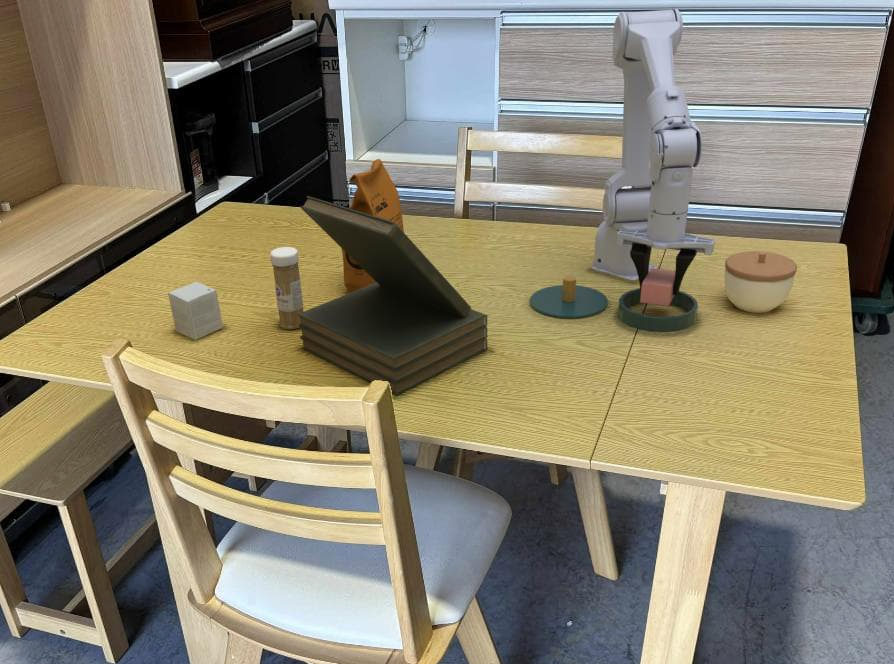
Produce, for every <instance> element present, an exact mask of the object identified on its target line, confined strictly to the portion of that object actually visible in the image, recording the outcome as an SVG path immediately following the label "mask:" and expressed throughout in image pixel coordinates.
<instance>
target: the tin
mask: <svg viewBox="0 0 894 664" xmlns="http://www.w3.org/2000/svg"><path fill="white" fill-rule="evenodd" d="M640 298H641V291H640V287H638V288H634V289H631V290H628V291H626V292H624V293H623V294H621V296H620V297H619V298H618V309H617V318H619V320H620V321H621V323H623V324H625V325H627V326H628V327H630V328H633V329H636V330H639V331H644V332H651V333H672V332H679V331H682V330H685V329H688V328H690V327H692V326H693V325H694V324H695V323H696V320H697V318H698V310H699V304H698V300H697V299H696V298H695V297H694V296H693V295H690V294H688V293H687V292H685V291H681V290H679V292H678V294H677V295H675V296H674V297H673V299H672V301H671V303H670V305H674V306H677V307H680V308H682V309H684V310H686V311H687V312H685V313H681V314H678V315H670V316H655V315H648V314H643V313H639V312H636V311H634V310H631V309H630V308H628V307H630V306H634V305H636V304H641V302H640Z"/></svg>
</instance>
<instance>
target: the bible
mask: <svg viewBox="0 0 894 664" xmlns="http://www.w3.org/2000/svg"><path fill="white" fill-rule="evenodd" d="M306 198H307V199H306V201H305V203H304V204H303V205H300V206H299V208H300V209H301V210H302V211H303V213H305V214H306V215H307V216H308V217H309V218H310V219H311V220H312V221H313V222H314V223H315V224H316V225H317V226H319V228H320V229H321V230H323V232H324V233H325V234H327V235H328V236H329V238H331V239H332V240H333V241H334V243H336V244H337V246H339V247H340V249H341V250H342V249H343V250H344V251H345V252H346V253H347V254H348V255H349V256H350V257H351V258H352V259H353V260H354V261H355V262H356V263H357V264H358V265H359V266H360V267H362V268H363V269H364V270H365V271H366V272H367V273H368V274H369V275H370V276H371V277H372V278H373V279H374V280H375V281H376V283H373V284H371V285H368V286H366V287H363V288H361V289H358V290H356V291H353V292H351V293H350V292H348V293H346V294H344V295H341V296H339V297H337V298H334V299H332V300H331V299H330V300H329V301H327V302H324V303H321V304H319V305H316V306H314V307H312V308H309V309H307V310H305V311H304V310H303V311H304V312H302V313H299V314H298V316H299V317H300V321H301V324H299V328H298V329H301V335H300V336H299V338H300V340H302V345H303V346H302V347H301V350H303V351H305V352H307V353H309V354H311V355H313V356H315V357H317V358H319V359H320V360H323V361H325V362H327V363H329V364H331V365H333V366H335V367H337V368H339V369H341V370H343V371H344V372H348V373H349V374H351V375H352V376H355V377H356V378H358V379H361V380H363V381H365V382H367V383H369V384H371V383H370V382H372V381H374V380H382V381H388V382H389V383H390V386H391V390H392V394H391V395H393V396H395V397H398V396H401V395H402V394H405V393H406V392H408V391H410V390H412V389H414V388H416V387H418V386H420V385H422V384H424V383H425V382H428V381H430V380H432V379H434V378H435V377H438V376H440V375H441V374H443V373H446V372H448V371H449V370H452V369H453V368H455V367H457V366H459V365H461V364H463V363H465V362H467V361H469V360H470V359H473V358H475V357H477V356H478V355H480V354H482V353H484V352H486V351H487V350H488V339H487V338H488V327H487V326H488V315H487V314H485V313H483V312H480V311H478V310H474V309H472V306H471V305H470V304H469V303H468V301H466V300H465V299H464V298H463V296H462V295H461V294H460V293H459V291H457V290H456V289H455V288H454V286H453V285H452V284H451V283H450V282H449V280H448V279H446V278H445V276H444V275H443V273H441V272H440V270H438V268H437V267H436V266H435V265H434V264H433V263H432V262H431V261H430V259H428V257H427V256H426V255H424V253H423V251H421V250H420V249H419V247H418V246H417V245H416V244H415V243H414V242H413V241H412V240H411V239H410V238H409V236H408V235H407V234H406V233H405V231H404V232H403V231H402V230H401V229H400V228H399V227H398V225H397V224H396V223H395V222H392V221H389V220H386V219H382V218H379V217H376V216H372V215H369V214H366V213H362V212H359V211H356V210H353V209H349V208H350V207H347V206H342V205H340V204H337V203H333V202H329V201H326V200H322V199H319V198H316V197H313V196H310V195H306Z"/></svg>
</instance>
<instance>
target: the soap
mask: <svg viewBox="0 0 894 664" xmlns="http://www.w3.org/2000/svg"><path fill="white" fill-rule="evenodd" d="M674 280H675V270H671V269H663V268H658V269H655V268H651V270H650V271H649V273H648V274H647V276H646V278H645V279H644V281H643V282H642V288H641V298H640V302H641V303H643V304H650V305H657V306H663V307H670V305H671V304H670V303H671V301H672V299H673V297H674V296H675V295H673V285H674ZM641 303H640V304H641Z"/></svg>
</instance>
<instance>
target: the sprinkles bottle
mask: <svg viewBox="0 0 894 664" xmlns="http://www.w3.org/2000/svg"><path fill="white" fill-rule="evenodd" d="M299 259H300V258H299V251H298V249H296V248H295V247H291V246H281V247H277V248H274V249H273V250H271V251H270V263H271V266H272V268H273V269H272V270H273V277H274V278H273V279H274V289H275V294H276V295H275V296H276V305H277V309H278V310H277V311H278V318H279V322H278V323H279V327H281V328H282V329H284V330H296V329H297V330H298V329H300V328H299V324H301V321H300V317H299V316H298V314H299V313H302V312H304V300H303V291H302V282H301V275H300V267H299Z"/></svg>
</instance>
